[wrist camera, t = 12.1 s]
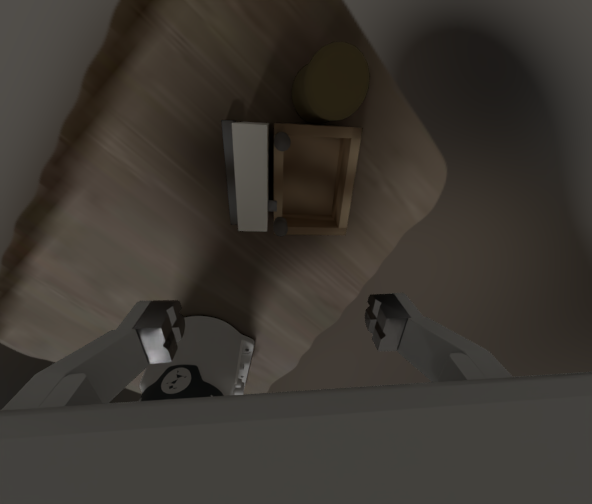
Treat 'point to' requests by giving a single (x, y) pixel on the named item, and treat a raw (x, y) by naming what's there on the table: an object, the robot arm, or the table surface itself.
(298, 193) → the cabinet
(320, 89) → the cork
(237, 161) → the white rectangular block
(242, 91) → the table surface
